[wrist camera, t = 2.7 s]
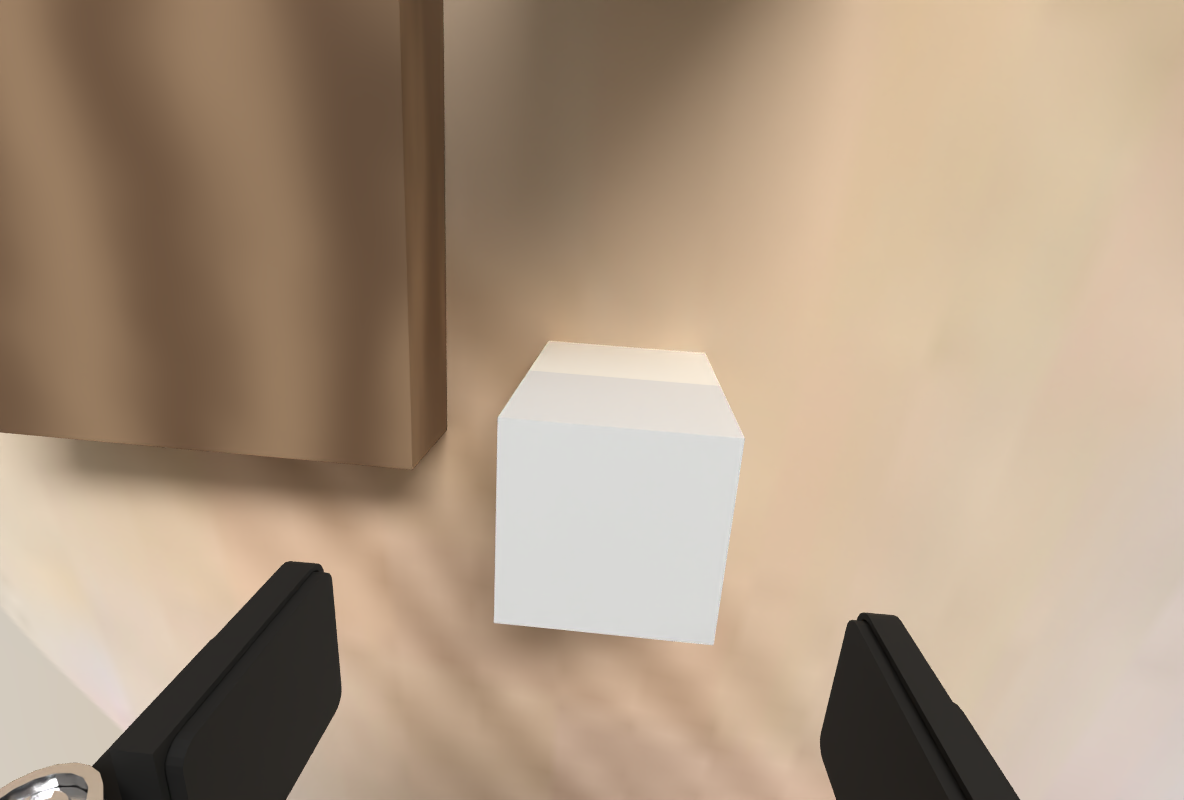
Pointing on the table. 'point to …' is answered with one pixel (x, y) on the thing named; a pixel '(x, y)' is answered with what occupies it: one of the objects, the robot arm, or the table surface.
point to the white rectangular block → (615, 493)
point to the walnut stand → (225, 225)
